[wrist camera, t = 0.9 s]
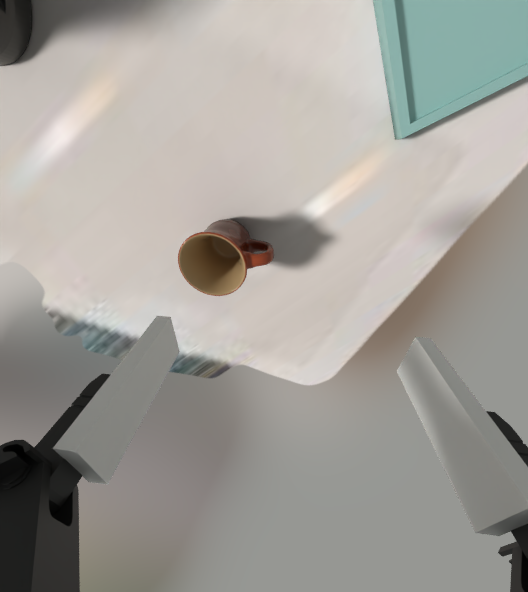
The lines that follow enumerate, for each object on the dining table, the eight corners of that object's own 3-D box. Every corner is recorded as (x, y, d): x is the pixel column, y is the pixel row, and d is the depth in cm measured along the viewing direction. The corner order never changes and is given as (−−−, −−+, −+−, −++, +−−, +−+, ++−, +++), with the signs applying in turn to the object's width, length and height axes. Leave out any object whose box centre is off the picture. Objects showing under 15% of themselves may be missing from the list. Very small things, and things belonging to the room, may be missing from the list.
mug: (211, 266, 40) (189, 297, 31) (197, 215, 35) (167, 235, 26) (278, 261, 38) (275, 293, 29) (273, 207, 33) (268, 226, 25)
